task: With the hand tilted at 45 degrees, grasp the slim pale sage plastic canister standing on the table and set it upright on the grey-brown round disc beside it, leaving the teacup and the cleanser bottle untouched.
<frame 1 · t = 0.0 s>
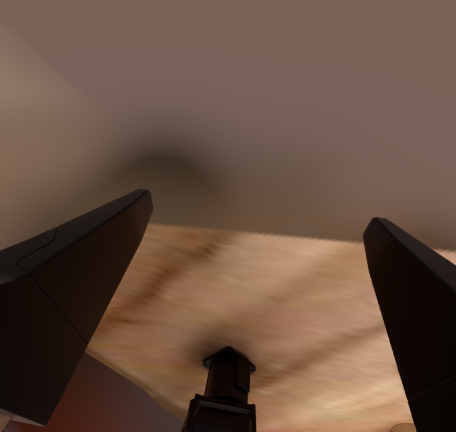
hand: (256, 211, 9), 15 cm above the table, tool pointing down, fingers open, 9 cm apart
canister: (406, 431, 40), on the table
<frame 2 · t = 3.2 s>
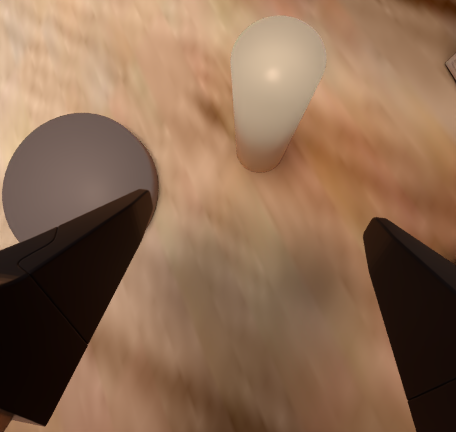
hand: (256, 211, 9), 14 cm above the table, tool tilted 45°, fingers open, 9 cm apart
canister: (259, 149, 24), on the table
grey-brown round disc: (88, 190, 24), on the table
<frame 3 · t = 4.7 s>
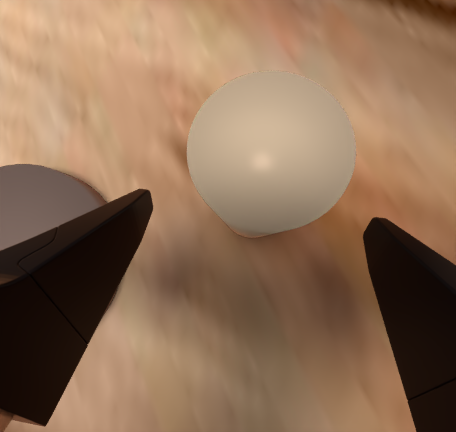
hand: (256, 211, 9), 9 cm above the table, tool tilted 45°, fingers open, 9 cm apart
canister: (251, 207, 18), on the table
grey-brown round disc: (35, 259, 19), on the table
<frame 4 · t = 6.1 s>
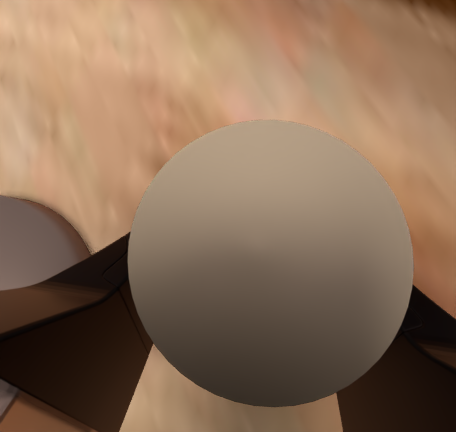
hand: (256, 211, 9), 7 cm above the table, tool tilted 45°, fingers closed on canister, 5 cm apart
canister: (247, 242, 16), on the table, touching gripper
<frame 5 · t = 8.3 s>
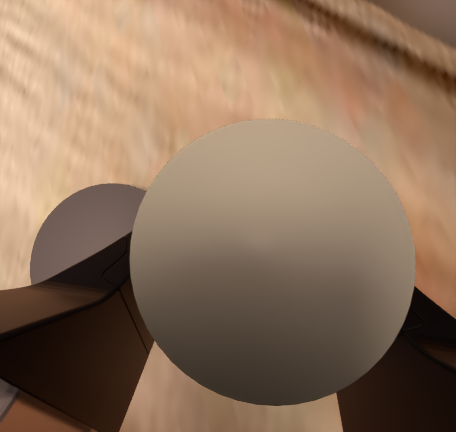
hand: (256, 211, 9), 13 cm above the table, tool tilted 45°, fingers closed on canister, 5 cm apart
canister: (248, 242, 16), point 7 cm above the table, touching gripper
grey-brown round disc: (118, 260, 23), on the table
when the fingers open (10 cm above the table, at t = 10.4 s): canister drops 1 cm, resting on grey-brown round disc.
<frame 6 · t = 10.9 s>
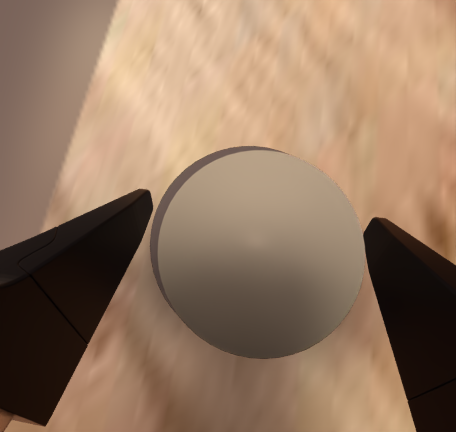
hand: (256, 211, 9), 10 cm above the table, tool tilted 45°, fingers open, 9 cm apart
canister: (247, 242, 17), point 2 cm above the table, touching grey-brown round disc
grey-brown round disc: (246, 241, 19), on the table
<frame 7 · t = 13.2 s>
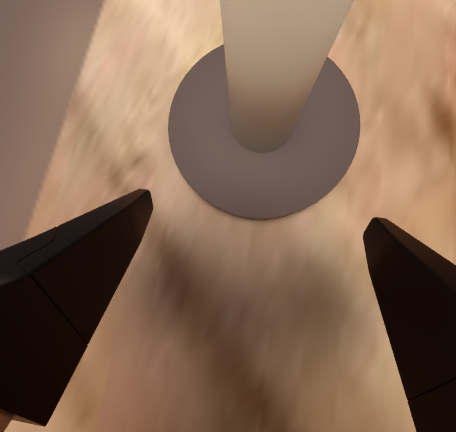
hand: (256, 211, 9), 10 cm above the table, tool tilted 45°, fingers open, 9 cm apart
canister: (261, 123, 18), point 2 cm above the table, touching grey-brown round disc
grey-brown round disc: (259, 134, 20), on the table
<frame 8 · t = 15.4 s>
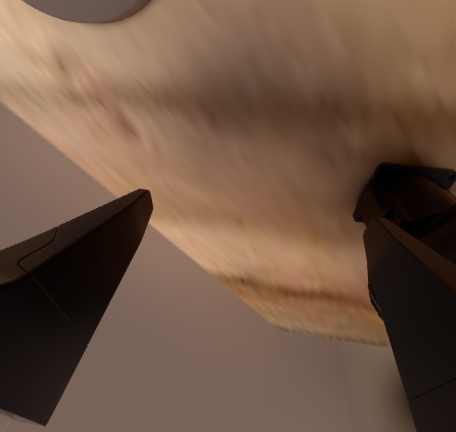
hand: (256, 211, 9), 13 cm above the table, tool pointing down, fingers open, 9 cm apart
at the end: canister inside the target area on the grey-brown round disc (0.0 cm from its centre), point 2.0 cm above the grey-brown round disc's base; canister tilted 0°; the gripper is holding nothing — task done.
